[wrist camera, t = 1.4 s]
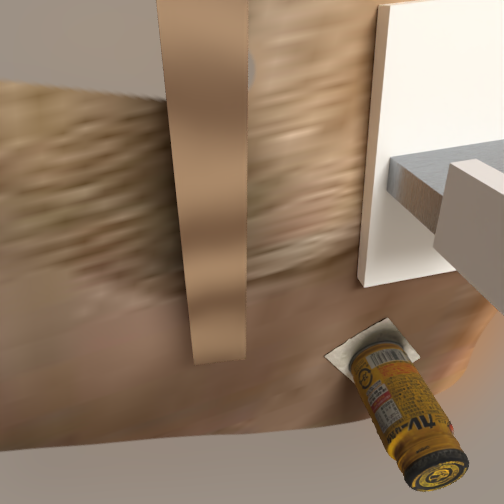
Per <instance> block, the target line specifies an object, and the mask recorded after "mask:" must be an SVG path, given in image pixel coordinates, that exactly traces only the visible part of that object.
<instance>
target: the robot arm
mask: <svg viewBox="0 0 504 504" xmlns="http://www.w3.org/2000/svg"><path fill="white" fill-rule="evenodd" d="M433 248H434V249H435V250H436V251H437V252H438V253H439V254H440V255H441V256H442V257H443V258H444V259H445V260H446V261H447V262H449V263H450V264H451V265H452V266H453V267H454V268H455V269H456V270H457V271H458V272H459V273H460V274H461V275H462V276H463V277H464V278H465V279H466V280H467V281H468V282H469V283H470V284H471V285H472V286H474V287H475V288H476V289H477V290H478V291H479V292H480V293H481V294H482V295H483V296H484V297H485V298H486V299H487V300H488V301H489V302H490V303H491V304H492V305H493V306H494V307H495V308H496V309H497V310H499V311H500V312H501V313H502V314H503V315H504V173H502V172H500V171H498V170H496V169H495V168H493V167H491V166H489V165H487V164H485V163H483V162H481V161H479V160H478V159H471V160H465V161H459V162H452V163H450V164H449V169H448V174H447V179H446V184H445V189H444V194H443V199H442V203H441V208H440V213H439V218H438V223H437V228H436V233H435V238H434V242H433Z"/></svg>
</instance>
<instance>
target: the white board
mask: <svg viewBox="0 0 504 504" xmlns="http://www.w3.org/2000/svg"><path fill="white" fill-rule="evenodd" d="M502 139H504V0H417V1H409V2H401V3H392V4H384V5H378V16H377V29H376V42H375V54H374V67H373V80H372V93H371V105H370V118H369V131H368V143H367V156H366V169H365V181H364V194H363V207H362V219H361V232H360V245H359V257H358V270H357V278H358V279H359V281H360V282H361V284H362V285H363V287H364V288H365V287H370V286H375V285H381V284H386V283H391V282H397V281H402V280H408V279H413V278H418V277H424V276H429V275H434V274H440V273H445V272H450V271H456V269H455V268H454V267H453V266H452V265H451V264H450V263H449V262H447V261H446V260H445V259H444V258H443V257H442V256H441V255H440V254H439V253H438V252H437V251H436V250H435V249H434V248H433V242H434V238H435V235H434V234H433V233H432V232H431V231H430V230H429V229H428V228H427V227H426V226H424V225H423V224H422V223H421V222H420V221H419V220H418V219H417V218H416V217H415V216H413V215H412V214H411V213H410V212H409V211H408V210H407V209H406V208H405V207H404V206H402V205H401V204H400V203H399V202H398V201H397V200H396V199H395V198H394V197H393V196H392V195H390V194H389V193H388V192H387V191H386V189H387V180H388V171H389V163H390V157H393V156H400V155H406V154H413V153H419V152H425V151H432V150H438V149H444V148H451V147H457V146H464V145H470V144H476V143H483V142H489V141H496V140H502Z"/></svg>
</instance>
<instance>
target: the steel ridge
mask: <svg viewBox="0 0 504 504" xmlns="http://www.w3.org/2000/svg"><path fill="white" fill-rule="evenodd" d="M471 159H478V160H479V161H481V162H483V163H485V164H487V165H489V166H491V167H493V168H495V169H496V170H498V171H500V172H502V173H504V139H502V140H496V141H489V142H483V143H476V144H470V145H464V146H457V147H451V148H444V149H438V150H432V151H425V152H419V153H413V154H406V155H400V156H393V157H390V163H389V171H388V180H387V189H386V191H387V192H388V193H389V194H390V195H392V196H393V197H394V198H395V199H396V200H397V201H398V202H399V203H400V204H401V205H402V206H404V207H405V208H406V209H407V210H408V211H409V212H410V213H411V214H412V215H413V216H415V217H416V218H417V219H418V220H419V221H420V222H421V223H422V224H423V225H424V226H426V227H427V228H428V229H429V230H430V231H431V232H432V233H433V234H434V235H435V233H436V228H437V223H438V218H439V213H440V208H441V203H442V199H443V194H444V189H445V184H446V179H447V174H448V169H449V164H450V163H452V162H459V161H465V160H471Z"/></svg>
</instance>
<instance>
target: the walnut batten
mask: <svg viewBox="0 0 504 504" xmlns="http://www.w3.org/2000/svg"><path fill="white" fill-rule="evenodd" d="M156 3H157V12H158V23H159V32H160V41H161V52H162V60H163V70H164V81H165V89H166V100H167V110H168V119H169V129H170V138H171V148H172V158H173V167H174V177H175V187H176V196H177V206H178V216H179V225H180V235H181V245H182V254H183V264H184V274H185V283H186V293H187V302H188V312H189V322H190V331H191V341H192V351H193V360H194V365H201V364H209V363H217V362H225V361H233V360H241V359H246V269H247V119H248V0H156Z"/></svg>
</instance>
